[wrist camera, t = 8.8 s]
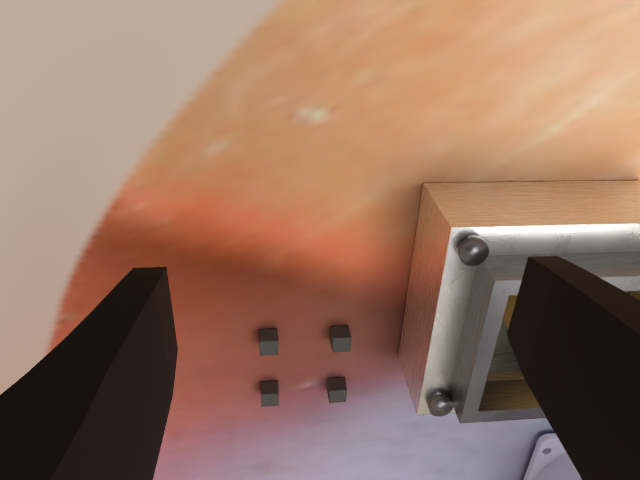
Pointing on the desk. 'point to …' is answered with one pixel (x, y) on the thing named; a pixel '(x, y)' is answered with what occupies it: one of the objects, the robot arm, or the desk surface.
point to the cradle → (336, 386)
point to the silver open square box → (500, 282)
